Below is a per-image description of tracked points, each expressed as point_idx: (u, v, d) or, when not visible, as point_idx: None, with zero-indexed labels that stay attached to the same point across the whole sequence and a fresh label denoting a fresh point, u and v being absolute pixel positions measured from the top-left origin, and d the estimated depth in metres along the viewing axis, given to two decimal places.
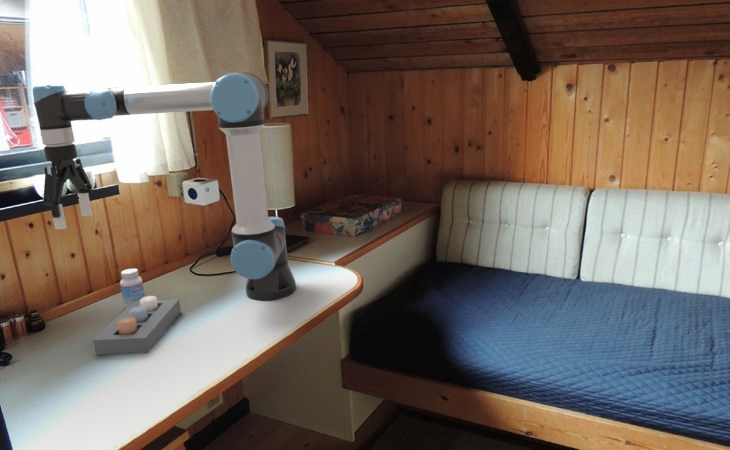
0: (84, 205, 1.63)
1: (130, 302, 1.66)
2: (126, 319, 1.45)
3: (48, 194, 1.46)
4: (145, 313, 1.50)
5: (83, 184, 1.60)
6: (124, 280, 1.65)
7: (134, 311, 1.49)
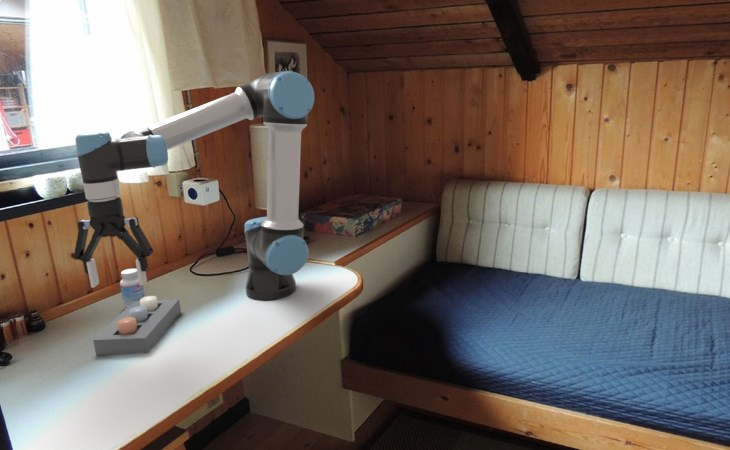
0: None
1: (130, 302, 1.66)
2: (126, 319, 1.45)
3: None
4: (145, 313, 1.50)
5: (131, 248, 1.38)
6: (124, 280, 1.65)
7: (134, 311, 1.49)
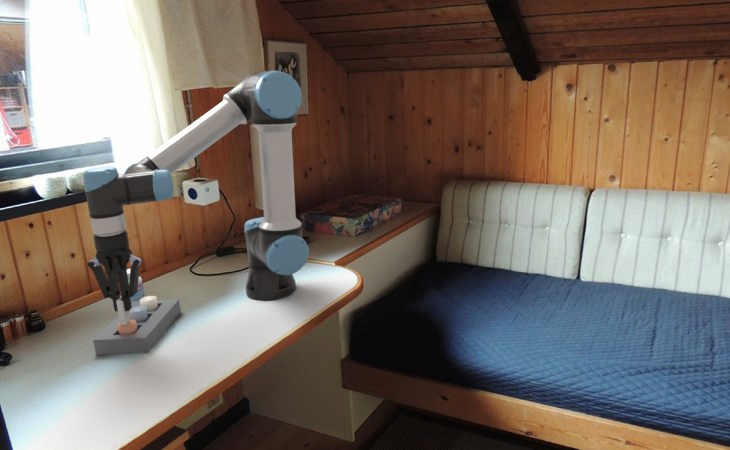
0: None
1: None
2: None
3: None
4: (145, 313, 1.50)
5: (121, 286, 1.40)
6: None
7: (134, 311, 1.49)
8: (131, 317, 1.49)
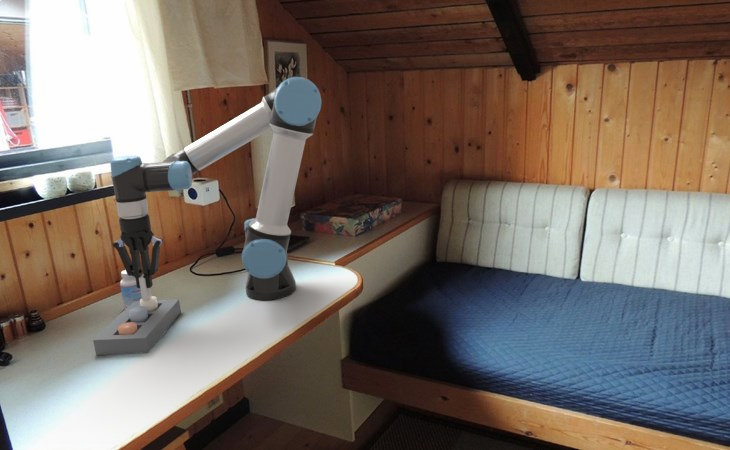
0: None
1: (130, 302, 1.66)
2: (127, 324, 1.45)
3: None
4: (145, 313, 1.50)
5: (143, 265, 1.53)
6: (124, 280, 1.65)
7: (134, 311, 1.49)
8: (131, 317, 1.49)
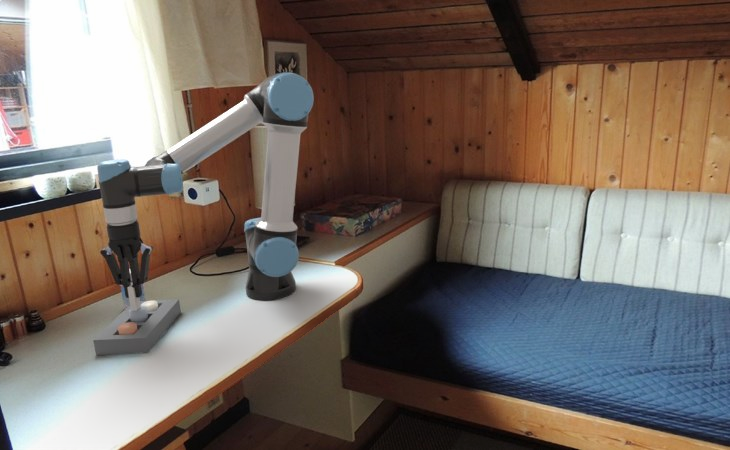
0: None
1: None
2: (127, 324, 1.45)
3: None
4: (145, 313, 1.50)
5: (132, 274, 1.47)
6: None
7: (134, 311, 1.49)
8: (131, 317, 1.49)
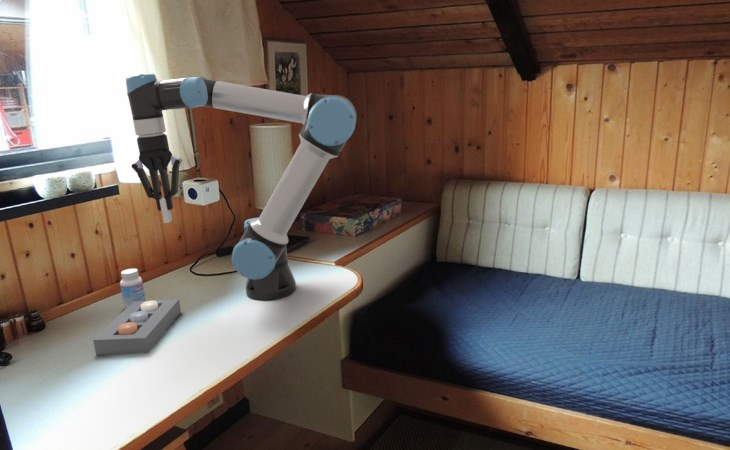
0: None
1: (130, 302, 1.66)
2: (127, 324, 1.45)
3: None
4: (146, 318, 1.51)
5: (164, 186, 1.53)
6: (124, 280, 1.65)
7: (135, 316, 1.50)
8: None
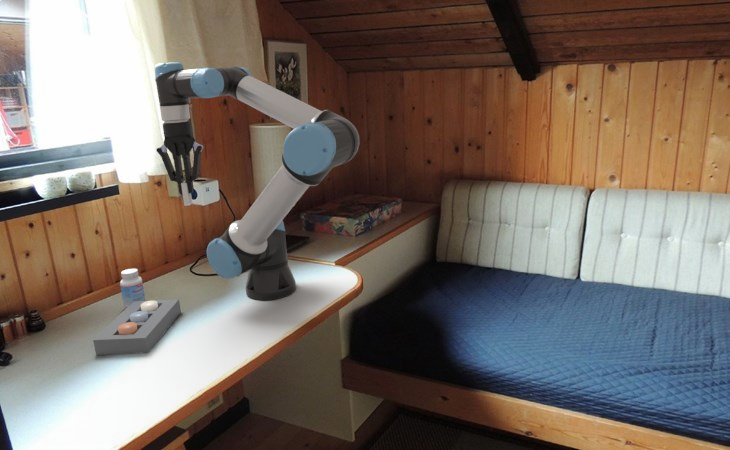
0: None
1: (130, 302, 1.66)
2: (127, 324, 1.45)
3: None
4: (146, 318, 1.51)
5: (186, 170, 1.60)
6: (124, 280, 1.65)
7: (135, 316, 1.50)
8: None
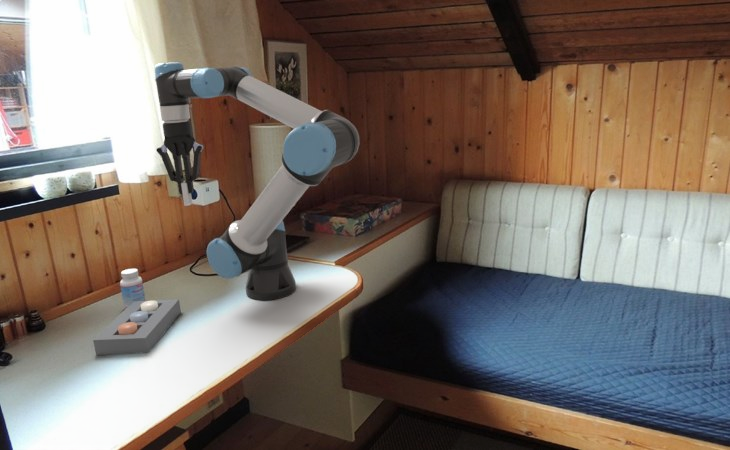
0: None
1: (130, 302, 1.66)
2: (127, 324, 1.45)
3: None
4: (146, 318, 1.51)
5: (186, 170, 1.60)
6: (124, 280, 1.65)
7: (135, 316, 1.50)
8: None
